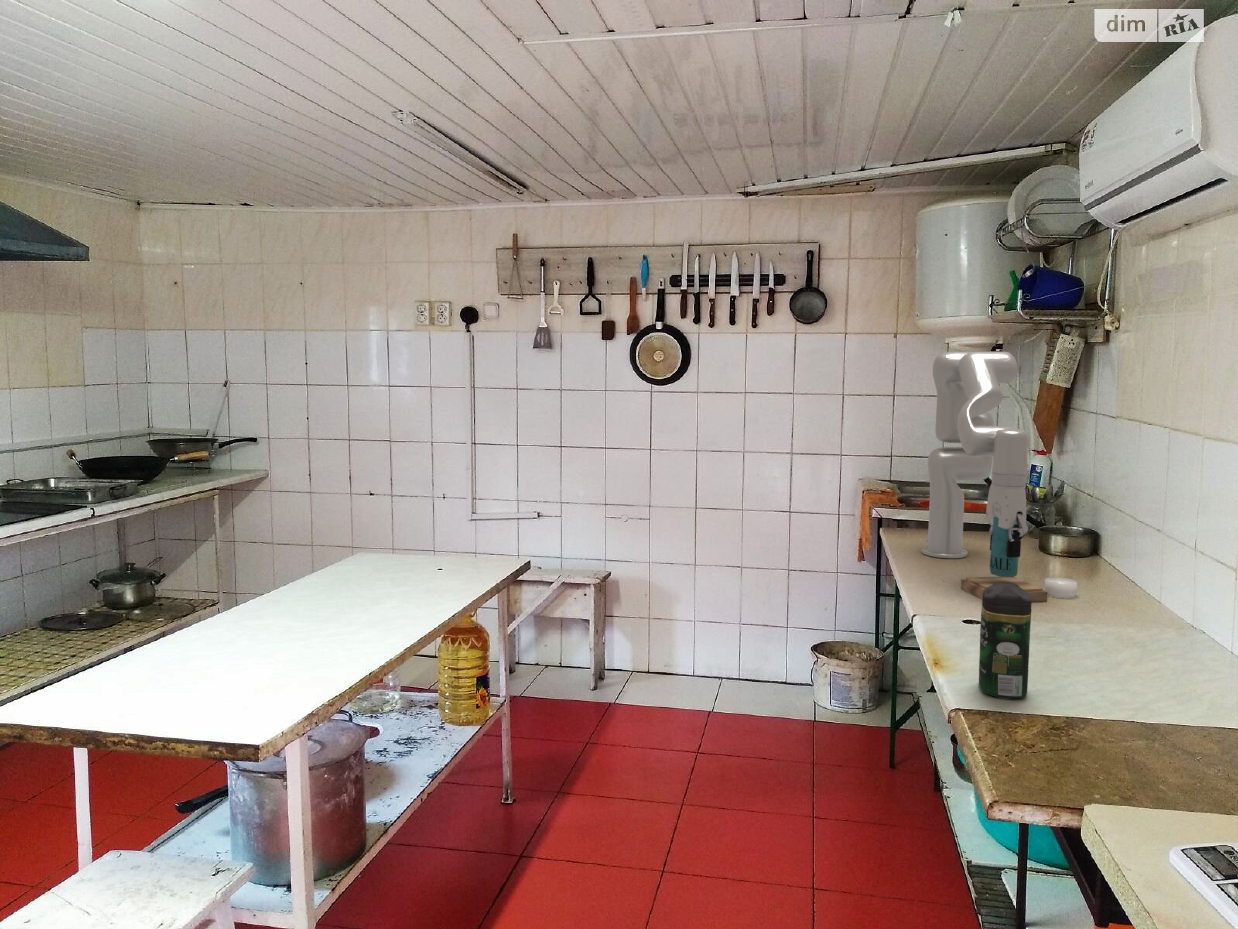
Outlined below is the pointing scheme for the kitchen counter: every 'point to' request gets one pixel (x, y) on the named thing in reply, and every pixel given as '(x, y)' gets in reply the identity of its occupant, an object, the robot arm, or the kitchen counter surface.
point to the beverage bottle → (1001, 553)
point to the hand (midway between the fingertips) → (1004, 553)
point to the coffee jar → (1004, 641)
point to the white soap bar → (1061, 588)
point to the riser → (980, 583)
